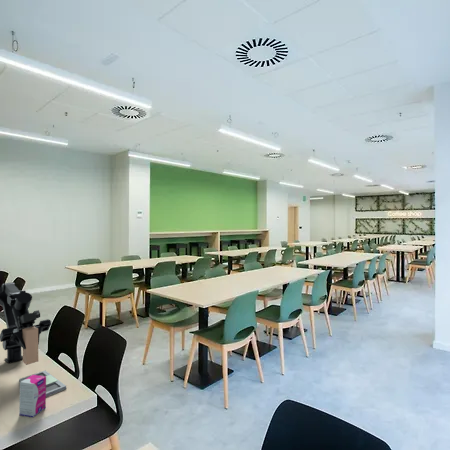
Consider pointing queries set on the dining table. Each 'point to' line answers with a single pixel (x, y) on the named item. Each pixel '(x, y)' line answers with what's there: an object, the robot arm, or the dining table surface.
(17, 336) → the robot arm
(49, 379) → the tray
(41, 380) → the supplement box
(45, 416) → the dining table surface
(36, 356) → the tan tall block
